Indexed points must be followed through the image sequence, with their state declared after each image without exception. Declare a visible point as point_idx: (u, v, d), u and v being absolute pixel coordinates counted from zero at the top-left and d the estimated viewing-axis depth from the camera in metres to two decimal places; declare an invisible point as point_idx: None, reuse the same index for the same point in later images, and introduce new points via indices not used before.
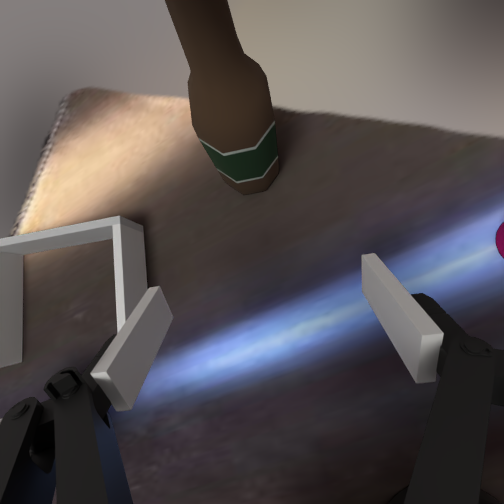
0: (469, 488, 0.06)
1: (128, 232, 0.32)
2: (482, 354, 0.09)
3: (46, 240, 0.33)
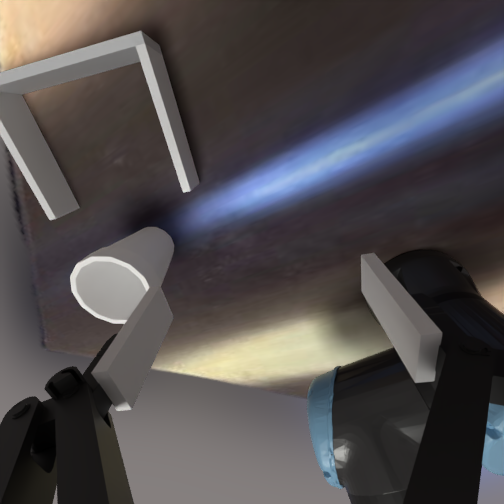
0: (468, 487, 0.06)
1: (153, 55, 0.27)
2: (481, 353, 0.09)
3: (55, 72, 0.28)
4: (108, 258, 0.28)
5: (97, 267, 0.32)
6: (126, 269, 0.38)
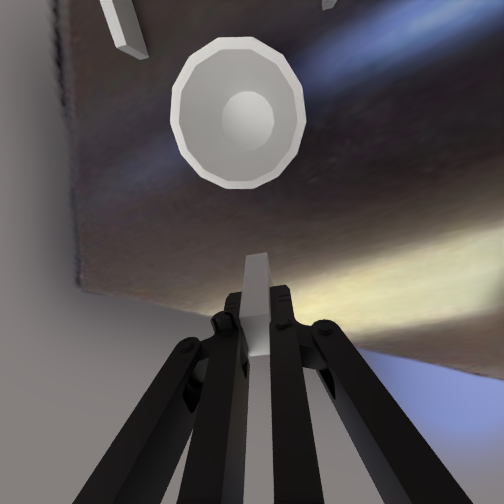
0: (306, 426, 0.08)
1: None
2: (288, 325, 0.12)
3: None
4: (247, 42, 0.16)
5: (197, 106, 0.21)
6: (218, 142, 0.26)
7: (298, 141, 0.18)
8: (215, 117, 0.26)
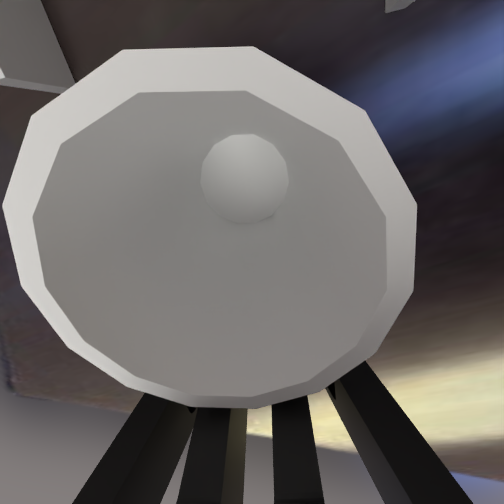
0: (306, 426, 0.08)
1: None
2: None
3: None
4: (235, 65, 0.04)
5: (127, 201, 0.09)
6: (191, 229, 0.14)
7: (382, 331, 0.07)
8: (186, 184, 0.15)
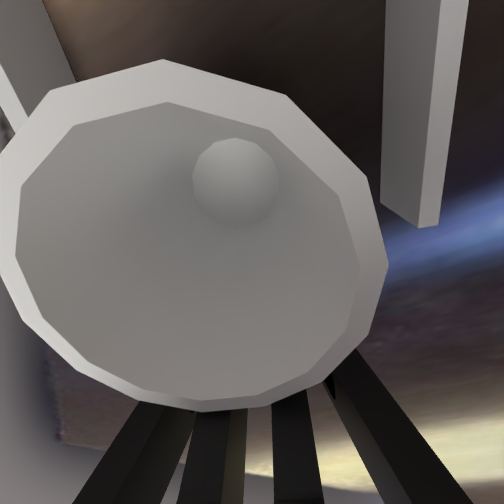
0: (306, 426, 0.08)
1: None
2: None
3: None
4: (151, 80, 0.04)
5: (113, 226, 0.10)
6: (190, 241, 0.15)
7: (368, 311, 0.06)
8: (177, 199, 0.15)
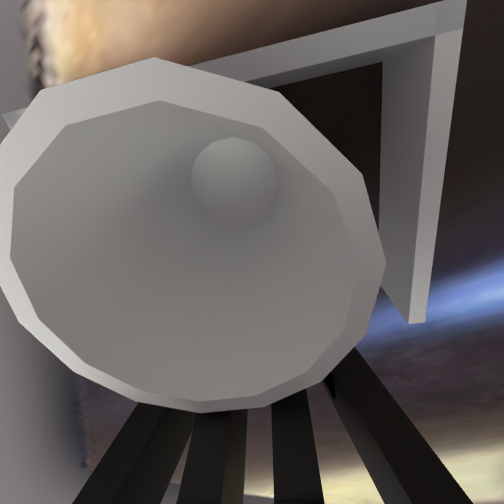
0: (306, 426, 0.08)
1: None
2: None
3: None
4: (143, 79, 0.04)
5: (110, 226, 0.09)
6: (188, 241, 0.15)
7: (366, 310, 0.06)
8: (176, 199, 0.15)
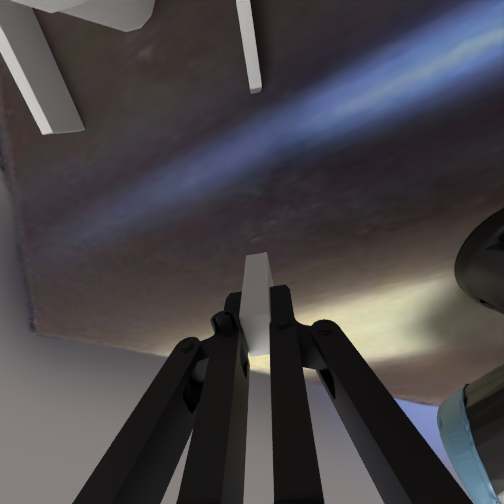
0: (306, 426, 0.08)
1: None
2: (288, 325, 0.12)
3: None
4: None
5: None
6: None
7: None
8: None
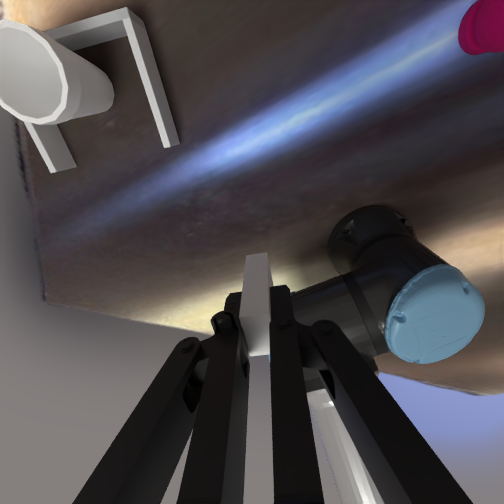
0: (306, 426, 0.08)
1: (137, 28, 0.33)
2: (288, 325, 0.12)
3: None
4: (4, 23, 0.26)
5: (17, 77, 0.31)
6: None
7: (64, 79, 0.28)
8: (58, 89, 0.37)
